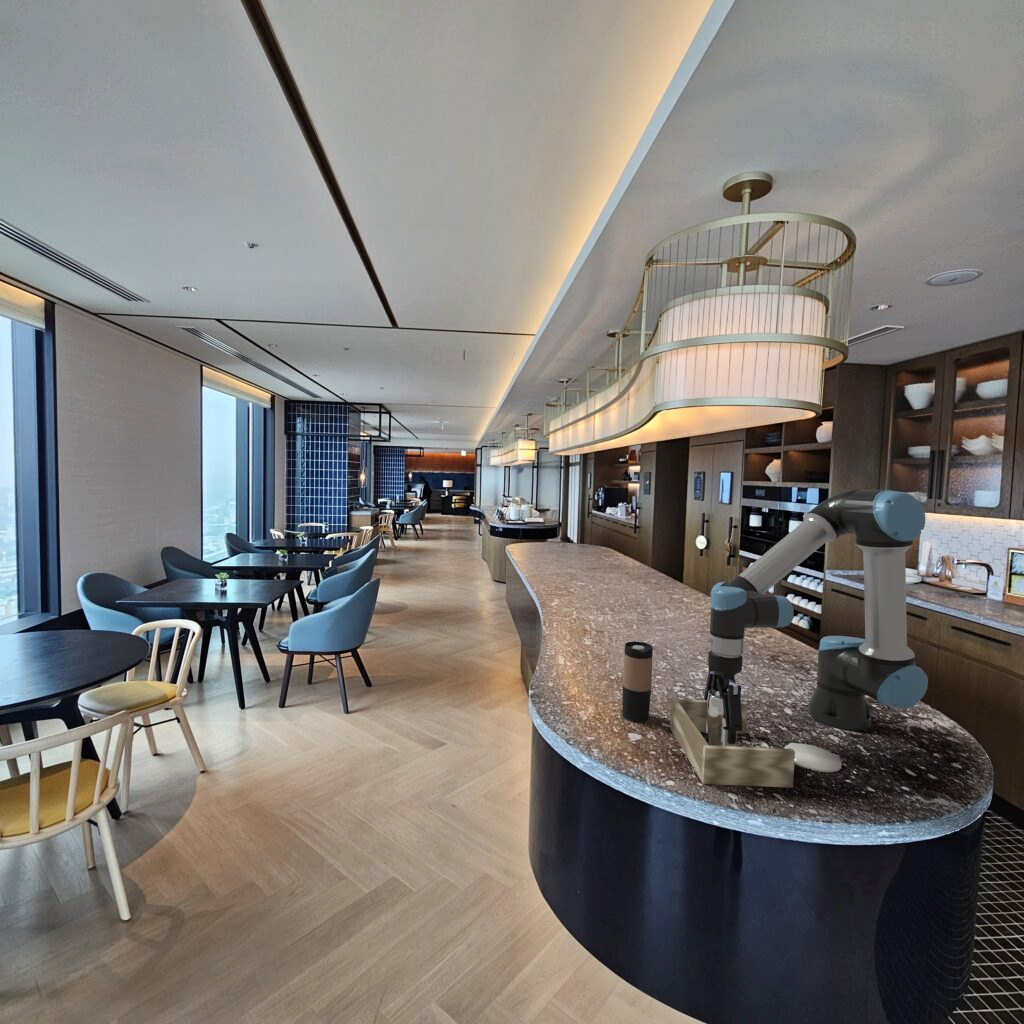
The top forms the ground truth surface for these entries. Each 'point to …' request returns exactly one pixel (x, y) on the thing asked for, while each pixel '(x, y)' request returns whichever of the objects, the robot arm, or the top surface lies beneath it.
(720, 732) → the beer glass
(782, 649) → the top surface
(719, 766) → the open side box
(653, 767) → the top surface
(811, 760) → the coaster
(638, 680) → the travel mug
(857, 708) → the robot arm
